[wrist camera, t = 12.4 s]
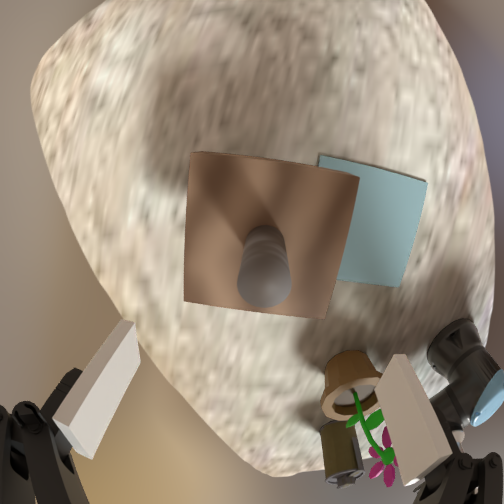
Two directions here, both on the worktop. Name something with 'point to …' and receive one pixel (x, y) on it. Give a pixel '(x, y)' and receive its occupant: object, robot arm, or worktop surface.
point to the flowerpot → (358, 404)
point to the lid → (265, 233)
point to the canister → (341, 454)
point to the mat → (379, 223)
